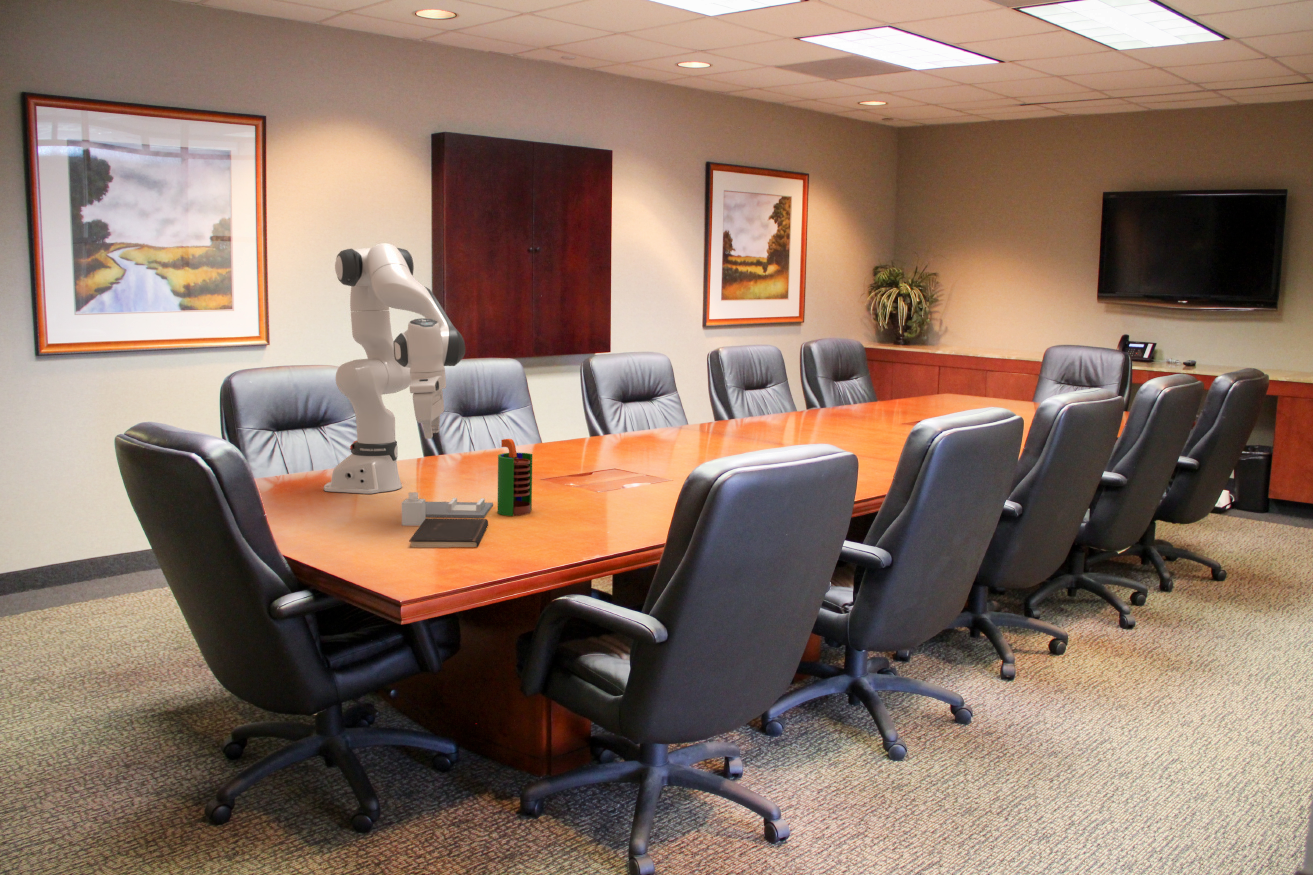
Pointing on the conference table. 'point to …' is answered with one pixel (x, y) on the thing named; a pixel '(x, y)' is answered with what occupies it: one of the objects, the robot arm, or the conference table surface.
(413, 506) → the white cube with knob
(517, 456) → the motor
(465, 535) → the hardcover book
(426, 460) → the conference table surface
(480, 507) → the mounting plate
